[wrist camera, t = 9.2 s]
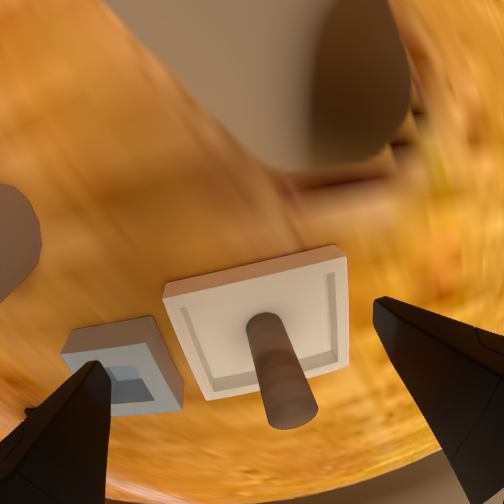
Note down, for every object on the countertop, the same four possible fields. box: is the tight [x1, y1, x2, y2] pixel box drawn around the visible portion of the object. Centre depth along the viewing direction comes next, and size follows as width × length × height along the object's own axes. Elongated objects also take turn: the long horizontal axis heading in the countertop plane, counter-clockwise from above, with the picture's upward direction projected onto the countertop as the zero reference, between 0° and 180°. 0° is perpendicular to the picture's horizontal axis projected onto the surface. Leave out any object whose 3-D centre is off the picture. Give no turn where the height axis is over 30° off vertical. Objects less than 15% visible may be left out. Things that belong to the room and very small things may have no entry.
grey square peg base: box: [60, 315, 184, 417], centre depth 22 cm, size 8×8×4 cm
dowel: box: [246, 312, 318, 430], centre depth 19 cm, size 3×3×9 cm
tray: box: [162, 244, 349, 401], centre depth 23 cm, size 11×13×2 cm
